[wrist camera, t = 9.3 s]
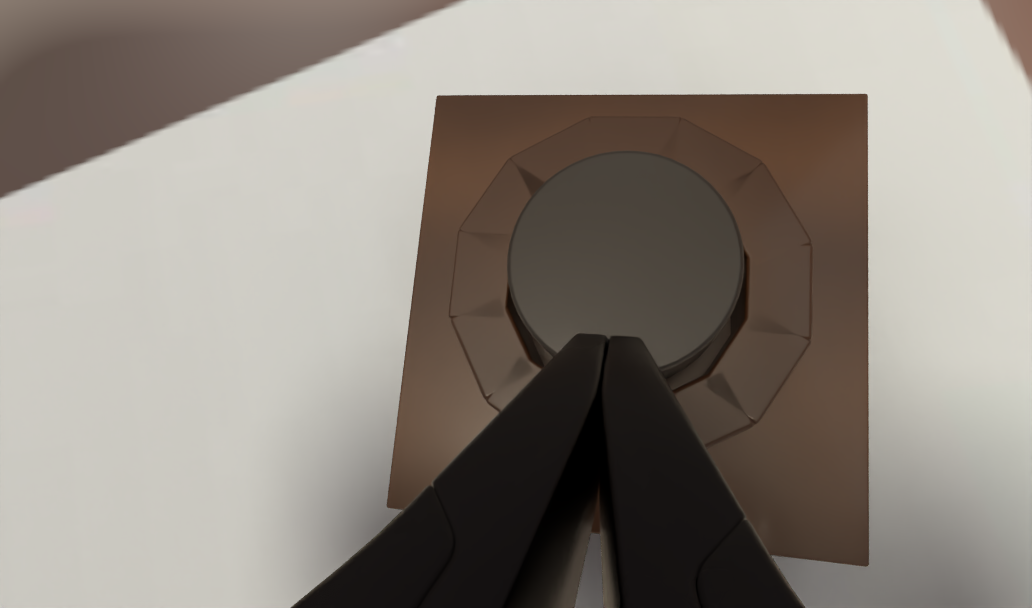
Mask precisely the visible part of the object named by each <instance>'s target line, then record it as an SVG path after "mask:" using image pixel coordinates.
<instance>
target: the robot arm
mask: <svg viewBox="0 0 1032 608" xmlns="http://www.w3.org/2000/svg"><path fill="white" fill-rule="evenodd" d="M598 493H599V520H600V541H601V562H602V584H603V605H604V608H806V607H805V606H804V605H803V603H802V602H801V600H800V599H799V598H798V596H797V595H796V594H795V592H794V591H793V589H792V588H791V586H790V585H789V583H788V582H787V580H786V579H785V577H784V575H783V574H782V572H781V571H780V569H779V568H778V566H777V565H776V563H775V561H774V560H773V558H772V557H771V555H770V554H769V552H768V550H767V549H766V547H765V546H764V544H763V542H762V540H761V539H760V537H759V535H758V534H757V532H756V530H755V529H754V527H753V525H752V524H751V522H750V521H749V520H746V514H745V512H744V511H743V509H742V507H741V506H740V504H739V502H738V501H737V499H736V497H735V496H734V494H733V492H732V490H731V489H730V487H729V485H728V484H727V482H726V480H725V479H724V477H723V475H722V474H721V472H720V470H719V469H718V467H717V465H716V463H715V462H714V460H713V458H712V457H711V455H710V453H709V452H708V450H707V448H706V447H705V445H704V443H703V442H702V440H701V438H700V436H699V435H698V433H697V431H696V430H695V428H694V426H693V425H692V423H691V421H690V420H689V418H688V416H687V415H686V413H685V411H684V409H683V408H682V406H681V404H680V403H679V401H678V399H677V398H676V396H675V394H674V393H673V391H672V389H671V388H670V386H669V384H668V382H667V381H666V379H665V377H664V376H663V374H662V372H661V371H660V369H659V367H658V366H657V364H656V362H655V361H654V359H653V357H652V355H651V354H650V352H649V350H648V349H647V347H646V345H645V344H644V342H643V341H642V339H641V338H639V337H634V336H617V335H614V336H611V337H610V338H609V339H608V338H607V337H606V336H605V335H600V334H584V333H578V334H576V335H575V336H574V337H573V338H572V339H571V340H570V341H569V342H568V343H567V344H566V345H565V346H564V347H563V348H562V349H561V350H560V351H559V352H558V353H557V354H556V355H555V356H554V357H553V358H552V359H551V360H550V361H549V362H548V363H547V364H546V365H545V366H544V367H543V368H542V369H541V370H540V371H539V372H538V373H537V374H536V375H535V376H534V377H533V378H532V380H531V381H530V382H529V383H528V384H527V385H526V386H525V387H524V388H523V389H522V390H521V391H520V392H519V393H518V394H517V395H516V396H515V397H514V398H513V399H512V400H511V401H510V402H509V403H508V404H507V405H506V406H505V407H504V408H503V409H502V410H501V411H500V412H499V413H498V414H497V415H496V416H495V417H494V418H493V419H492V420H491V421H490V422H489V423H488V424H487V425H486V426H485V428H484V429H483V430H482V431H481V432H480V433H479V434H478V435H477V436H476V437H475V438H474V439H473V440H472V441H471V442H470V443H469V444H468V445H467V446H466V447H465V448H464V449H463V450H462V451H461V452H460V453H459V454H458V455H457V456H456V457H455V458H454V459H453V460H452V461H451V462H450V463H449V464H448V465H447V466H446V467H445V468H444V469H443V470H442V471H441V472H440V473H439V475H438V476H437V477H436V478H435V479H434V480H433V481H432V486H431V485H428V486H426V487H425V488H424V489H423V490H422V491H421V493H420V494H419V495H418V496H417V497H416V498H415V499H414V500H413V501H412V502H411V503H410V504H409V505H408V506H407V507H406V508H405V509H404V510H403V511H402V512H400V513H399V514H398V515H397V516H396V517H395V518H394V519H393V520H392V521H391V522H390V523H389V524H388V525H387V526H386V527H385V528H384V529H383V530H382V531H381V532H380V533H379V534H378V535H377V536H375V537H374V538H373V539H372V540H371V541H370V542H368V543H367V544H366V545H365V546H364V547H363V548H361V549H360V550H359V551H358V552H357V553H356V554H355V555H353V556H352V557H351V558H350V559H349V560H348V561H346V562H345V563H344V564H343V565H342V566H341V567H339V568H338V569H337V570H336V571H335V572H333V573H332V574H331V575H330V576H329V577H327V578H326V579H325V580H324V581H322V582H321V583H320V584H319V585H318V586H316V587H315V588H314V589H313V590H312V591H310V592H309V593H308V594H307V595H305V596H304V597H303V598H302V599H301V600H299V601H298V602H297V603H296V604H294V605H293V606H292V607H291V608H574V607H575V602H576V598H577V593H578V589H579V584H580V580H581V575H582V571H583V566H584V562H585V557H586V553H587V548H588V544H589V539H590V535H591V530H592V526H593V521H594V516H595V511H596V506H597V501H598Z"/></svg>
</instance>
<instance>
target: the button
mask: <svg viewBox="0 0 1032 608" xmlns="http://www.w3.org/2000/svg"><path fill="white" fill-rule="evenodd" d="M507 275H508V285H509V289H510V293H511V297H512V300H513V303H514V305H515V308H516V311H517V313H518V315H519V316H520V318H521V320H522V322H523V324H524V325H525V327H526V328H527V329H528V331H529V332H530V333H531V335H532V336H533V337H534V338H535V339H536V340H537V342H538V343H539V344H540V345H541V346H542V347H543V348H544V349H545V350H547V351H548V352H549V353H550V354H551V355H552V356H553V357H554V356H555V355H556V354H557V353H558V352H559V351H560V350H561V349H562V348H563V347H564V346H565V345H566V344H567V343H568V342H569V341H570V340H571V339H572V338H573V337H574V336H575V335H576V334H578V333H584V334H600V335H605V336H606V337H607V338H608V339H609V338H610V337H611V336H614V335H617V336H634V337H639V338H641V339H642V341H643V342H644V344H645V345H646V347H647V349H648V350H649V352H650V354H651V355H652V357H653V359H654V361H655V362H656V364H657V366H658V367H659V369H660V371H661V372H662V374H663V376H664V377H665V379H666V378H668V377H671V376H673V375H675V374H676V373H678V372H680V371H682V370H684V369H685V368H686V367H688V366H689V365H690V364H692V363H693V362H694V361H695V360H696V359H697V358H699V357H700V356H701V355H702V354H703V353H704V352H705V350H706V349H707V348H708V347H709V345H710V344H711V343H712V341H713V340H714V339H715V338H716V336H717V335H718V334H719V332H720V331H721V330H722V328H723V327H724V326H725V325H726V323H727V321H728V319H729V318H730V316H731V314H732V312H733V310H734V308H735V306H736V303H737V301H738V298H739V295H740V291H741V287H742V283H743V276H744V249H743V243H742V238H741V234H740V231H739V228H738V225H737V222H736V219H735V217H734V215H733V213H732V211H731V209H730V207H729V206H728V204H727V203H726V202H725V200H724V199H723V197H722V196H721V194H720V193H719V192H718V191H717V190H716V189H715V188H714V187H713V186H712V184H711V183H709V182H708V181H707V180H706V179H705V178H704V177H702V176H701V175H700V174H699V173H697V172H695V171H694V170H692V169H691V168H689V167H688V166H686V165H684V164H682V163H680V162H678V161H676V160H673V159H671V158H668V157H664V156H661V155H658V154H653V153H648V152H642V151H613V152H607V153H601V154H597V155H594V156H590V157H587V158H584V159H582V160H579V161H577V162H575V163H573V164H571V165H569V166H567V167H565V168H564V169H562V170H560V171H559V172H557V173H556V174H555V175H553V176H552V177H551V178H549V179H548V180H547V181H546V182H545V183H544V184H543V185H542V186H541V187H540V188H539V189H538V190H537V191H536V192H535V193H534V194H533V196H532V197H531V198H530V199H529V201H528V202H527V203H526V205H525V207H524V208H523V210H522V212H521V213H520V215H519V217H518V220H517V222H516V224H515V226H514V229H513V232H512V236H511V239H510V243H509V249H508V255H507Z"/></svg>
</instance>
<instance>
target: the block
mask: <svg viewBox="0 0 1032 608" xmlns="http://www.w3.org/2000/svg"><path fill="white" fill-rule="evenodd" d="M613 151H642V152H648V153H653V154H658V155H661V156H664V157H668V158H671V159H673V160H676V161H678V162H680V163H682V164H684V165H686V166H688V167H689V168H691V169H692V170H694V171H695V172H697V173H699V174H700V175H701V176H702V177H704V178H705V179H706V180H707V181H708V182H709V183H711V184H712V186H713V187H714V188H715V189H716V190H717V191H718V192H719V193H720V194H721V196H722V197H723V199H724V200H725V202H726V203H727V204H728V206H729V207H730V209H731V211H732V213H733V215H734V217H735V219H736V222H737V225H738V228H739V231H740V234H741V238H742V243H743V249H744V276H743V283H742V287H741V291H740V295H739V298H738V301H737V303H736V306H735V308H734V310H733V312H732V314H731V316H730V318H729V319H728V321H727V323H726V325H725V326H724V327H723V328H722V330H721V331H720V332H719V334H718V335H717V336H716V338H715V339H714V340H713V341H712V343H711V344H710V345H709V347H708V348H707V349H706V350H705V352H704V353H703V354H702V355H701V356H700V357H699V358H697V359H696V360H695V361H694V362H693V363H692V364H690V365H689V366H688V367H686V368H685V369H684V370H682V371H680V372H678V373H676V374H675V375H673V376H671V377H668V378H666V381H667V382H668V384H669V386H670V388H671V389H672V391H673V393H674V394H675V396H676V398H677V399H678V401H679V403H680V404H681V406H682V408H683V409H684V411H685V413H686V415H687V416H688V418H689V420H690V421H691V423H692V425H693V426H694V428H695V430H696V431H697V433H698V435H699V436H700V438H701V440H702V442H703V443H704V445H705V447H706V448H707V450H708V452H709V453H710V455H711V457H712V458H713V460H714V462H715V463H716V465H717V467H718V469H719V470H720V472H721V474H722V475H723V477H724V479H725V480H726V482H727V484H728V485H729V487H730V489H731V490H732V492H733V494H734V496H735V497H736V499H737V501H738V502H739V504H740V506H741V507H742V509H743V511H744V512H745V514H746V520H749V521H750V522H751V524H752V525H753V527H754V529H755V530H756V532H757V534H758V535H759V537H760V539H761V540H762V542H763V544H764V546H765V547H766V549H767V550H768V552H769V554H770V555H775V556H783V557H791V558H799V559H807V560H816V561H824V562H832V563H840V564H848V565H856V566H864V567H867V566H868V565H869V426H868V96H867V94H733V95H453V96H437V99H436V107H435V115H434V123H433V131H432V139H431V148H430V156H429V164H428V172H427V180H426V188H425V197H424V205H423V213H422V221H421V229H420V237H419V246H418V254H417V262H416V270H415V278H414V286H413V295H412V303H411V311H410V319H409V327H408V336H407V344H406V352H405V360H404V368H403V376H402V385H401V393H400V401H399V409H398V417H397V425H396V434H395V442H394V450H393V458H392V466H391V474H390V483H389V491H388V499H387V507H388V508H392V509H401V510H404V509H405V508H406V507H407V506H408V505H409V504H410V503H411V502H412V501H413V500H414V499H415V498H416V497H417V496H418V495H419V494H420V493H421V491H422V490H423V489H424V488H425V487H426V486H428V485H431V486H432V481H433V480H434V479H435V478H436V477H437V476H438V475H439V473H440V472H441V471H442V470H443V469H444V468H445V467H446V466H447V465H448V464H449V463H450V462H451V461H452V460H453V459H454V458H455V457H456V456H457V455H458V454H459V453H460V452H461V451H462V450H463V449H464V448H465V447H466V446H467V445H468V444H469V443H470V442H471V441H472V440H473V439H474V438H475V437H476V436H477V435H478V434H479V433H480V432H481V431H482V430H483V429H484V428H485V426H486V425H487V424H488V423H489V422H490V421H491V420H492V419H493V418H494V417H495V416H496V415H497V414H498V413H499V412H500V411H501V410H502V409H503V408H504V407H505V406H506V405H507V404H508V403H509V402H510V401H511V400H512V399H513V398H514V397H515V396H516V395H517V394H518V393H519V392H520V391H521V390H522V389H523V388H524V387H525V386H526V385H527V384H528V383H529V382H530V381H531V380H532V378H533V377H534V376H535V375H536V374H537V373H538V372H539V371H540V370H541V369H542V368H543V367H544V366H545V365H546V364H547V363H548V362H549V361H550V360H551V359H552V358H553V356H552V355H551V354H550V353H549V352H548V351H547V350H545V349H544V348H543V347H542V346H541V345H540V344H539V343H538V342H537V340H536V339H535V338H534V337H533V336H532V335H531V333H530V332H529V331H528V329H527V328H526V327H525V325H524V324H523V322H522V320H521V318H520V316H519V315H518V313H517V311H516V308H515V305H514V303H513V300H512V297H511V293H510V289H509V285H508V275H507V255H508V249H509V243H510V239H511V236H512V232H513V229H514V226H515V224H516V222H517V220H518V217H519V215H520V213H521V212H522V210H523V208H524V207H525V205H526V203H527V202H528V201H529V199H530V198H531V197H532V196H533V194H534V193H535V192H536V191H537V190H538V189H539V188H540V187H541V186H542V185H543V184H544V183H545V182H546V181H547V180H548V179H549V178H551V177H552V176H553V175H555V174H556V173H557V172H559V171H560V170H562V169H564V168H565V167H567V166H569V165H571V164H573V163H575V162H577V161H579V160H582V159H584V158H587V157H590V156H594V155H597V154H601V153H607V152H613ZM591 533H596V534H600V520H599V493H598V501H597V506H596V511H595V516H594V521H593V526H592V530H591Z"/></svg>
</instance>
